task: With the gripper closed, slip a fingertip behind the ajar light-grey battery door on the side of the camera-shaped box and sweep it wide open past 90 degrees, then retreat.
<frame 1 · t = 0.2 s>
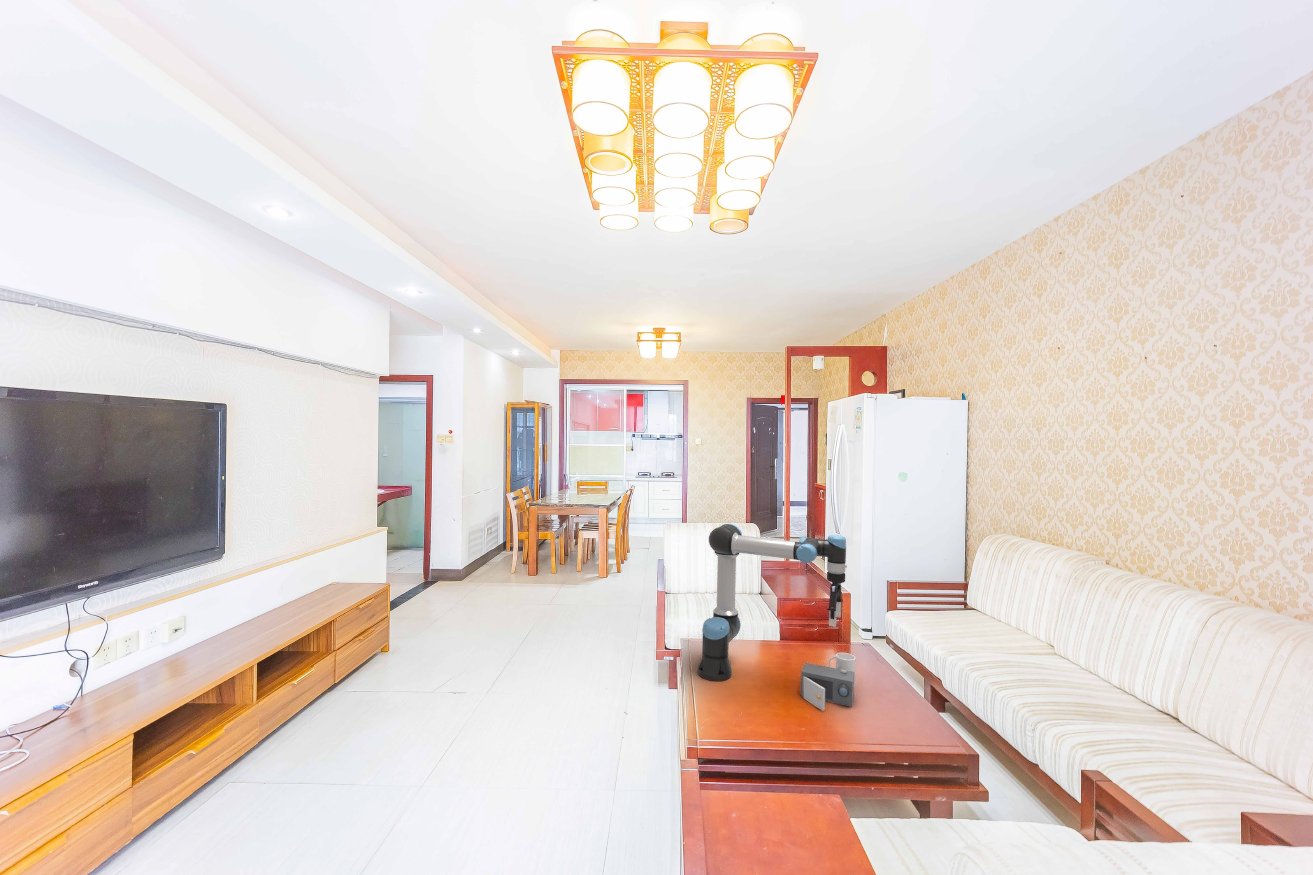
hand: (834, 621, 231), 28 cm above the table, fingers open, 13 cm apart
door: (812, 693, 214), point 4 cm above the table, hinge at 40.0°
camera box: (827, 695, 221), on the table
mug: (841, 682, 234), on the table
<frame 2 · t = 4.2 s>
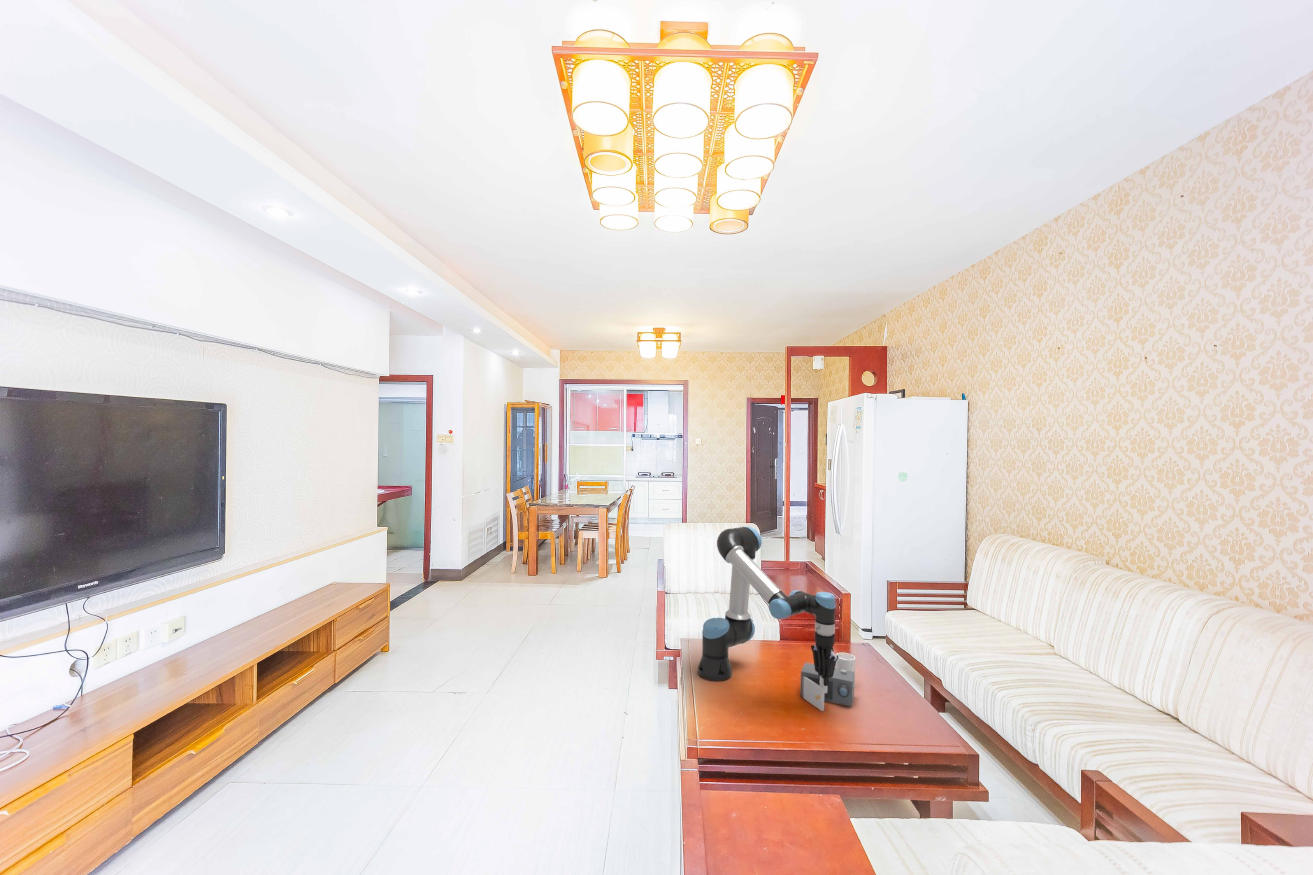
hand: (823, 692, 212), 6 cm above the table, fingers closed
door: (812, 693, 214), point 4 cm above the table, hinge at 41.8°, touching gripper
everything else where it was.
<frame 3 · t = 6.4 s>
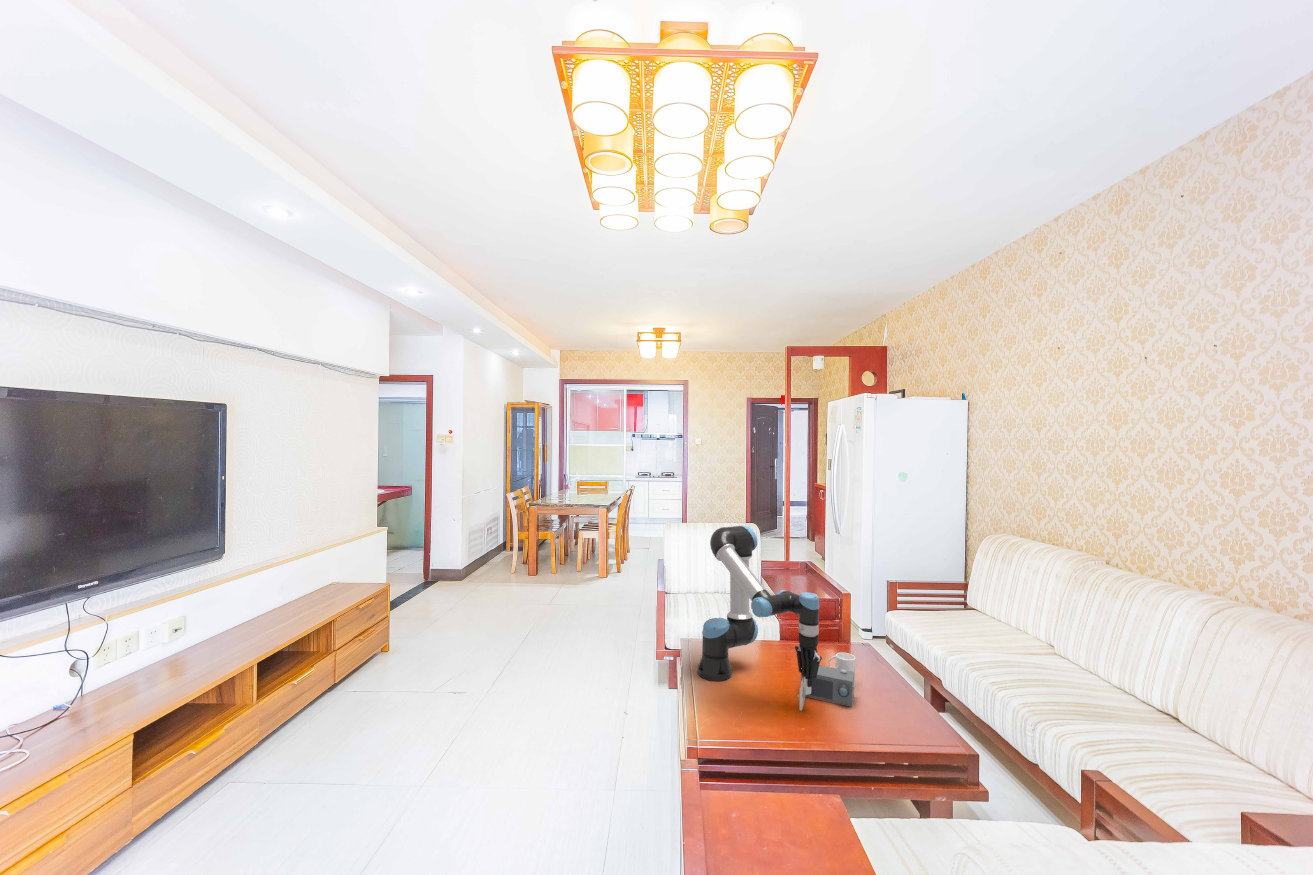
hand: (807, 693, 211), 6 cm above the table, fingers closed
door: (801, 692, 215), point 4 cm above the table, hinge at 86.5°, touching gripper
everything else where it was.
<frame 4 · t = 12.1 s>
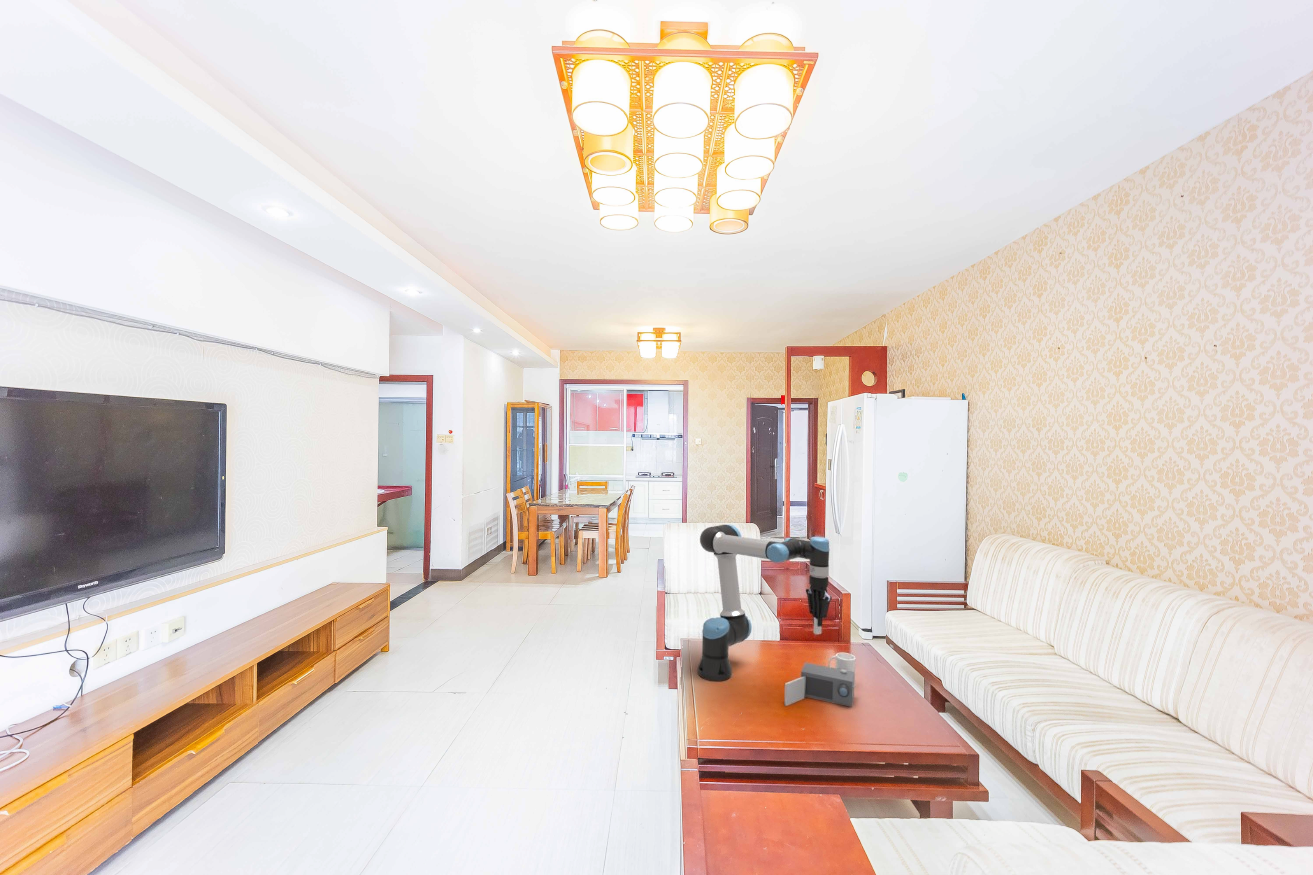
hand: (817, 633, 219), 26 cm above the table, fingers closed
door: (794, 690, 217), point 4 cm above the table, hinge at 118.1°
everything else where it was.
at the end: door at +118° (first picture: +40°) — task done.
